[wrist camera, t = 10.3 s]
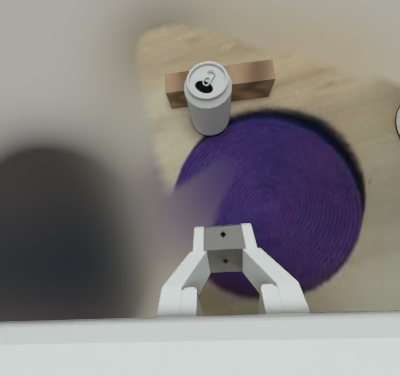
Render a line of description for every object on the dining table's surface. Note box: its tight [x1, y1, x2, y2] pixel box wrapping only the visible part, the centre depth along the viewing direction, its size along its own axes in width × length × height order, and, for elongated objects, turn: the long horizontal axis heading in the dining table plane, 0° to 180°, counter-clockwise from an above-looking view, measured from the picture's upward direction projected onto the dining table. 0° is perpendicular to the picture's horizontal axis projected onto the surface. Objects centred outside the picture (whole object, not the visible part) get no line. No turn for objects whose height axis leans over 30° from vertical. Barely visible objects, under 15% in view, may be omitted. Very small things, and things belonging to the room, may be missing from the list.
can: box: [184, 61, 232, 135], centre depth 35 cm, size 8×8×12 cm
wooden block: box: [165, 60, 275, 108], centre depth 39 cm, size 20×4×5 cm, turn 94°
